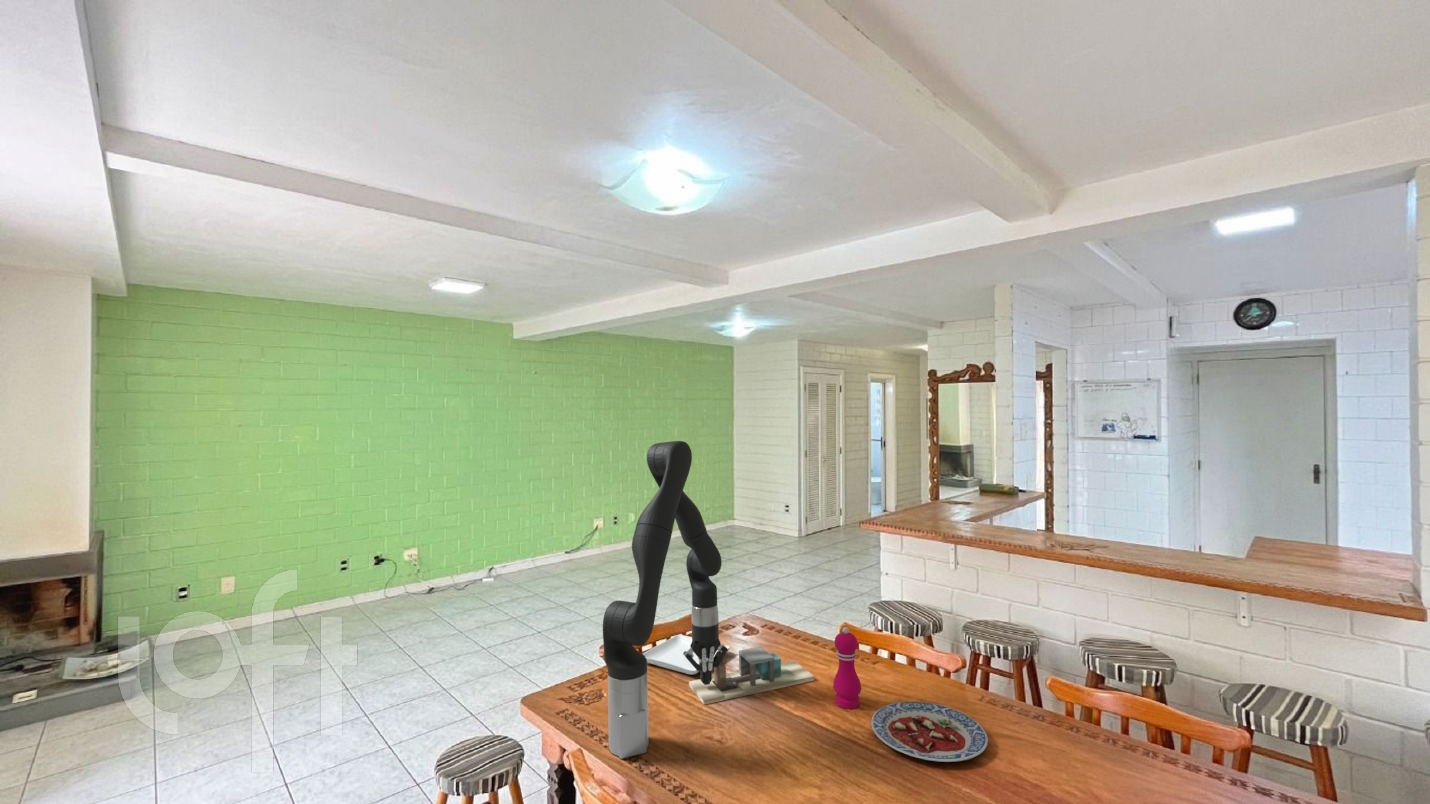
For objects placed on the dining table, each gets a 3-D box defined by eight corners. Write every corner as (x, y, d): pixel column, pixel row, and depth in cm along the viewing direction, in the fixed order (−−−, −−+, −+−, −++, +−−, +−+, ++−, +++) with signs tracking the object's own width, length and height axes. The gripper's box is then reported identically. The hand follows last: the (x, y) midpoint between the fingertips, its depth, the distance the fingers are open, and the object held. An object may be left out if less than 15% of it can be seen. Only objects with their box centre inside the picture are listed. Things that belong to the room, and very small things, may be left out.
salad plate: (732, 655, 188) (731, 644, 188) (695, 682, 170) (694, 670, 170) (678, 643, 199) (678, 633, 199) (638, 666, 181) (638, 655, 181)
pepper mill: (859, 697, 158) (857, 622, 158) (863, 710, 151) (861, 632, 151) (832, 696, 158) (830, 622, 159) (835, 709, 151) (833, 632, 152)
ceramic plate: (912, 780, 122) (912, 765, 122) (852, 719, 147) (851, 707, 147) (1014, 758, 129) (1014, 744, 129) (940, 703, 154) (939, 692, 154)
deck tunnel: (814, 680, 168) (813, 652, 168) (703, 704, 155) (703, 674, 156) (793, 664, 179) (792, 638, 179) (689, 685, 166) (688, 657, 167)
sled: (781, 676, 168) (780, 655, 168) (720, 688, 161) (720, 666, 161) (773, 669, 173) (772, 649, 173) (714, 681, 166) (713, 660, 166)
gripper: (687, 628, 157) (688, 694, 156) (732, 621, 162) (733, 684, 161) (678, 620, 164) (679, 682, 163) (721, 613, 169) (722, 673, 168)
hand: (706, 683), depth 162 cm, fingers closed
